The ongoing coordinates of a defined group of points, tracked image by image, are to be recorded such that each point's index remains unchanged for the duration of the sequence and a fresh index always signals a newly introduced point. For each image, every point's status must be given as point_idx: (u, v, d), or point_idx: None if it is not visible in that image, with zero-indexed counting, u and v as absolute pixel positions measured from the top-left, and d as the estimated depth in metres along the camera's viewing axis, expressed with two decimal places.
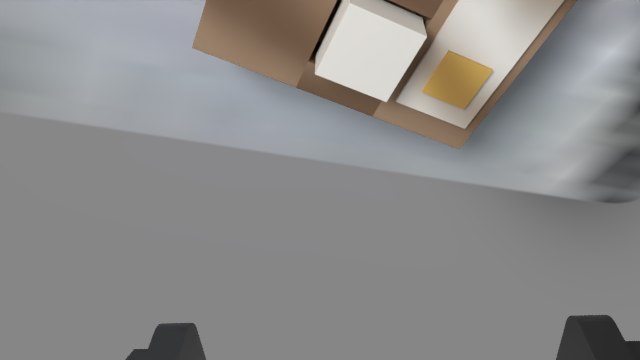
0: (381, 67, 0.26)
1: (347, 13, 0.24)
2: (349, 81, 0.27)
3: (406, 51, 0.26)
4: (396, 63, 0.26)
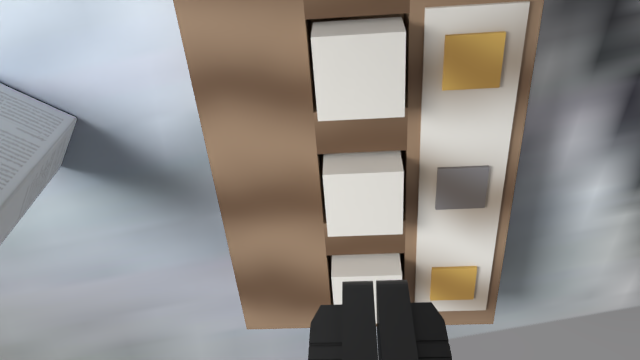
0: None
1: (333, 283, 0.31)
2: None
3: None
4: None
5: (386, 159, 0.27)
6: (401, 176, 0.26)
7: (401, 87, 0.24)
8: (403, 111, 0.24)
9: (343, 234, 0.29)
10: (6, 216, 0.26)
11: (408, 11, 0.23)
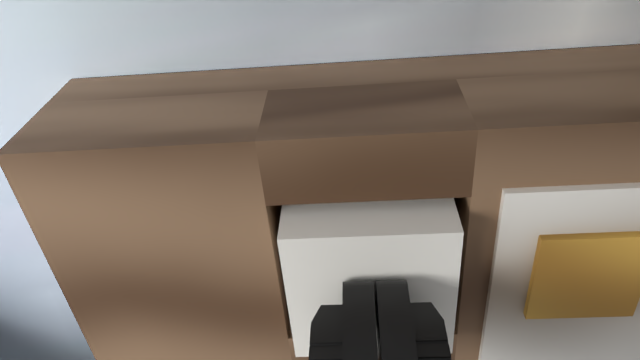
0: None
1: None
2: None
3: None
4: None
5: None
6: None
7: (449, 313, 0.13)
8: (450, 346, 0.13)
9: None
10: None
11: (469, 194, 0.12)
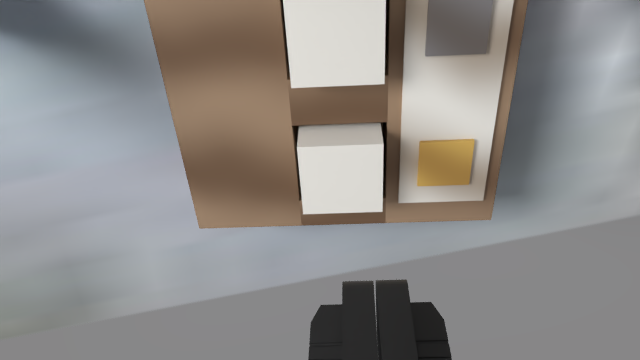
0: (358, 185, 0.26)
1: (300, 155, 0.25)
2: (337, 208, 0.27)
3: (372, 163, 0.25)
4: (369, 176, 0.26)
5: None
6: None
7: None
8: None
9: (310, 84, 0.23)
10: None
11: None
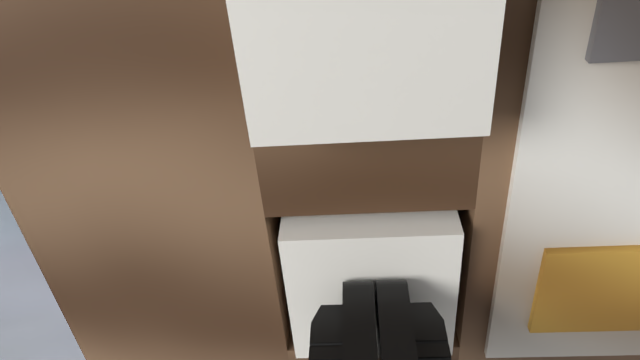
0: None
1: (285, 257, 0.12)
2: None
3: (438, 271, 0.12)
4: (430, 296, 0.12)
5: None
6: None
7: None
8: None
9: (299, 138, 0.09)
10: None
11: None
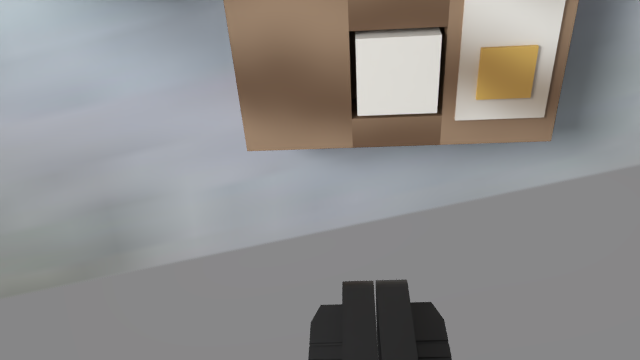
0: (414, 82, 0.26)
1: (358, 48, 0.25)
2: (391, 108, 0.27)
3: (429, 57, 0.25)
4: (426, 72, 0.26)
5: None
6: None
7: None
8: None
9: None
10: None
11: None
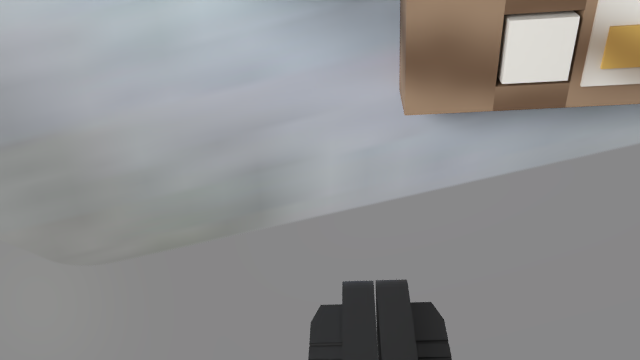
0: (552, 56, 0.32)
1: (510, 28, 0.32)
2: (531, 77, 0.33)
3: (567, 35, 0.32)
4: (563, 47, 0.32)
5: None
6: None
7: None
8: None
9: None
10: None
11: None
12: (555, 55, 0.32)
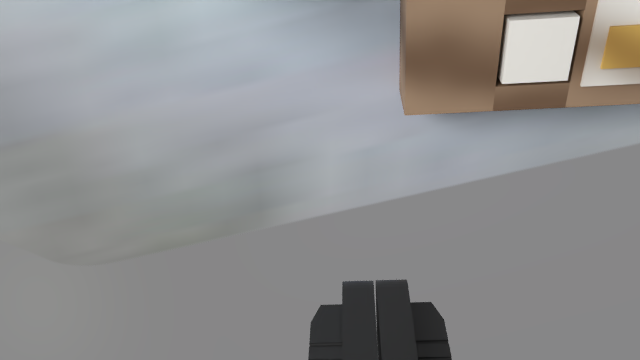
0: (552, 56, 0.32)
1: (510, 28, 0.32)
2: (531, 77, 0.33)
3: (567, 34, 0.32)
4: (563, 47, 0.32)
5: None
6: None
7: None
8: None
9: None
10: None
11: None
12: (555, 55, 0.32)
